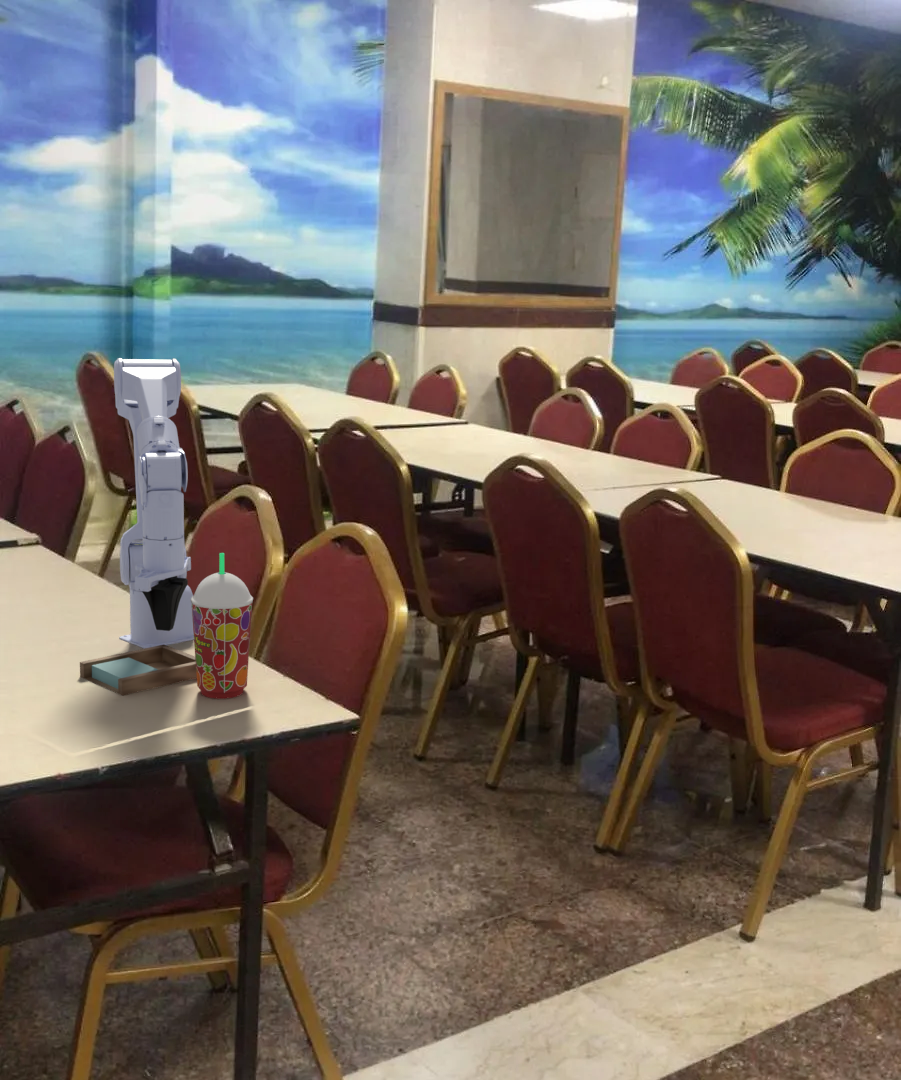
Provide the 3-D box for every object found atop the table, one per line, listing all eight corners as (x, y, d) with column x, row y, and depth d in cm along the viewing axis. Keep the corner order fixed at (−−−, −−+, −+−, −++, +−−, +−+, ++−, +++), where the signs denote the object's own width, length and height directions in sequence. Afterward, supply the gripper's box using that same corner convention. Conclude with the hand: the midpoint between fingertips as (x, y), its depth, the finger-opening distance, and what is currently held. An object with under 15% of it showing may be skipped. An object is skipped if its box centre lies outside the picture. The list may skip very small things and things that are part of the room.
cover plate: (128, 669, 192) (128, 657, 192) (160, 682, 187) (159, 670, 186) (92, 677, 188) (91, 665, 188) (122, 691, 183) (122, 678, 182)
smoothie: (185, 688, 186) (184, 548, 182) (244, 682, 189) (244, 545, 185) (199, 706, 178) (198, 561, 174) (259, 700, 182) (260, 558, 178)
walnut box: (164, 660, 198) (164, 644, 198) (207, 677, 191) (207, 661, 190) (80, 679, 188) (79, 662, 188) (122, 698, 181) (122, 680, 180)
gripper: (159, 525, 196) (160, 614, 198) (113, 544, 182) (115, 639, 185) (203, 528, 194) (204, 618, 197) (161, 548, 180) (163, 644, 183)
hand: (164, 629), depth 191 cm, fingers closed
